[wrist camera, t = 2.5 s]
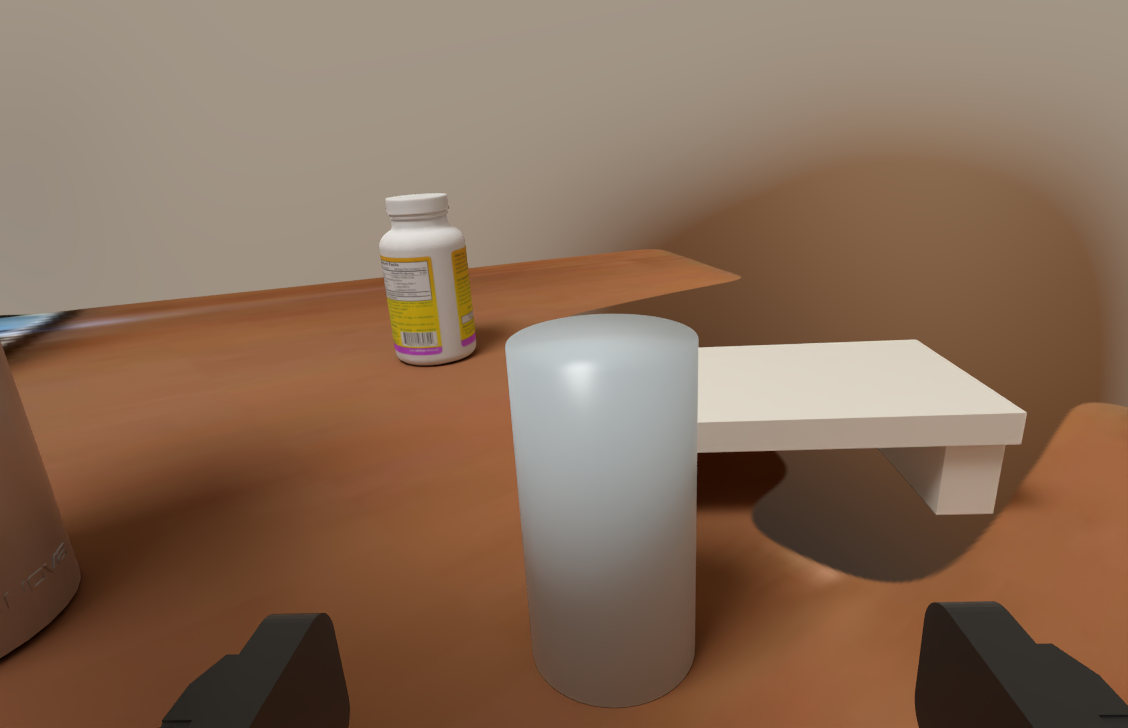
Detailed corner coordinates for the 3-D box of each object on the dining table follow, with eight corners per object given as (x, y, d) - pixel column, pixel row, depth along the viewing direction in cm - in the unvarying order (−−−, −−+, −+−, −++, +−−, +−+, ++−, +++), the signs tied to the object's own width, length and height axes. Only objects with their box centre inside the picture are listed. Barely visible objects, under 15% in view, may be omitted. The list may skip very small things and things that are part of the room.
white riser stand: (587, 527, 30) (582, 425, 28) (590, 432, 39) (586, 351, 37) (1006, 519, 28) (1026, 412, 27) (905, 423, 38) (916, 339, 36)
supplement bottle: (459, 337, 59) (442, 190, 55) (490, 356, 54) (474, 193, 50) (385, 353, 56) (361, 197, 52) (410, 374, 51) (386, 202, 47)
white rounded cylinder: (523, 707, 21) (491, 375, 17) (539, 590, 26) (517, 317, 22) (706, 707, 20) (712, 367, 17) (684, 588, 25) (685, 310, 22)
